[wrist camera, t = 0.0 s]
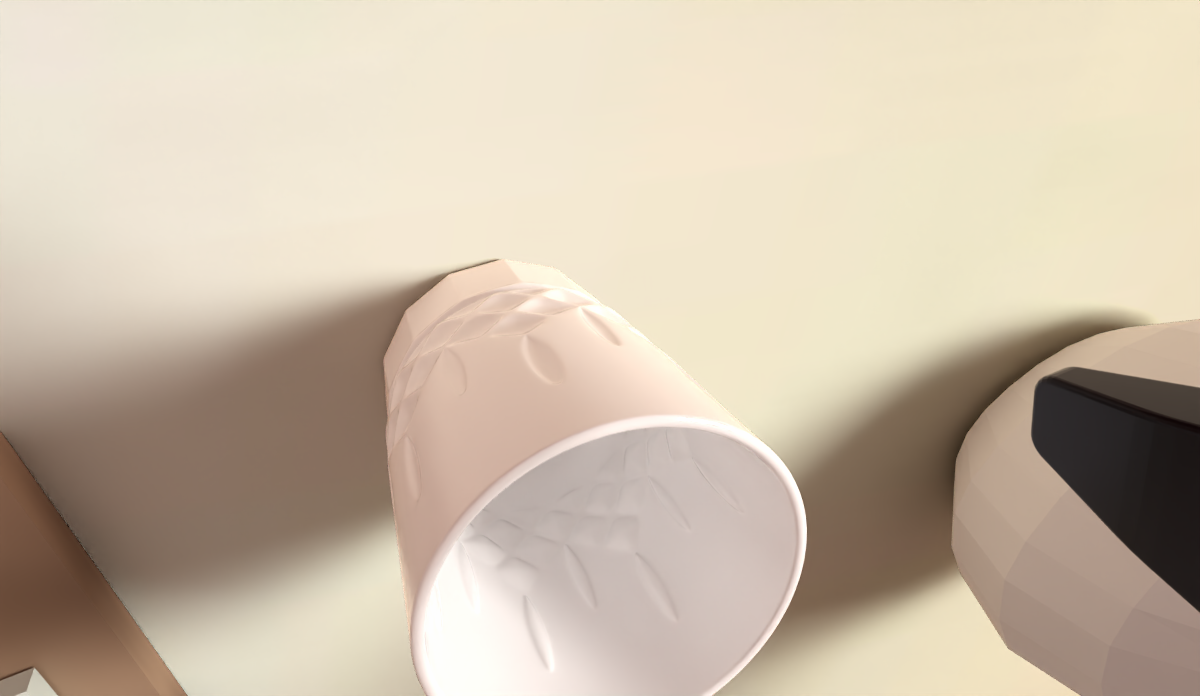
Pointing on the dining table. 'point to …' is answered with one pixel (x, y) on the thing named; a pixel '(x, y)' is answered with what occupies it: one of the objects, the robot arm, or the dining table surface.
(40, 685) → the panel
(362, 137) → the dining table surface
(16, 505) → the board
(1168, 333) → the soap bottle
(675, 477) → the white cup
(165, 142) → the dining table surface
